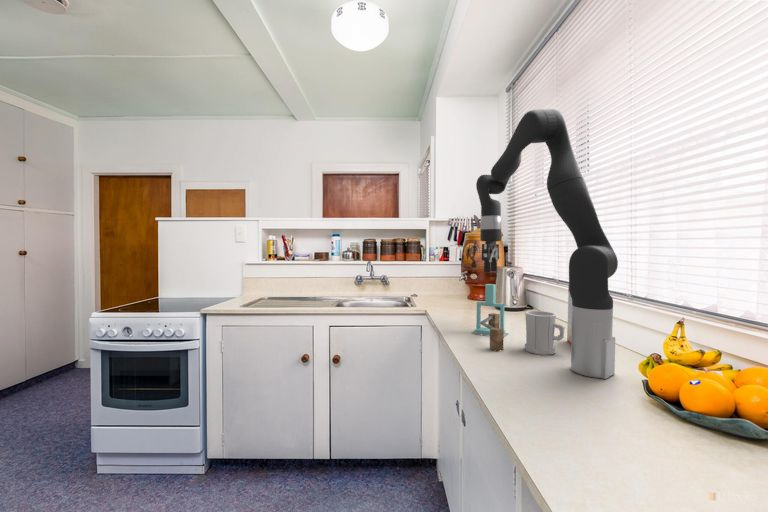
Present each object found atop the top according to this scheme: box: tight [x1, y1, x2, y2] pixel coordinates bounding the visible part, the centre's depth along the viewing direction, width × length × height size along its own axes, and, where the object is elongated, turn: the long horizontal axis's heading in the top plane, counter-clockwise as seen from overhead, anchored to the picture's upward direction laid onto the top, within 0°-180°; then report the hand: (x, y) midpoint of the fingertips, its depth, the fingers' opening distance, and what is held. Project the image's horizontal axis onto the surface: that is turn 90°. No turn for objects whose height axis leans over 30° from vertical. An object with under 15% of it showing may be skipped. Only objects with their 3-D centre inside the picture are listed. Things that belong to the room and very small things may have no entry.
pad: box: [471, 330, 509, 339], centre depth 132 cm, size 7×12×1 cm, turn 57°
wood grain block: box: [487, 312, 505, 352], centre depth 125 cm, size 4×30×7 cm, turn 164°
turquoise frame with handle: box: [474, 283, 506, 335], centre depth 132 cm, size 5×10×18 cm, turn 57°
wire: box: [480, 315, 494, 329], centre depth 125 cm, size 6×26×1 cm, turn 164°
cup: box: [524, 310, 566, 356], centre depth 111 cm, size 10×9×12 cm
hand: (490, 271), depth 132 cm, fingers open, 8 cm apart
